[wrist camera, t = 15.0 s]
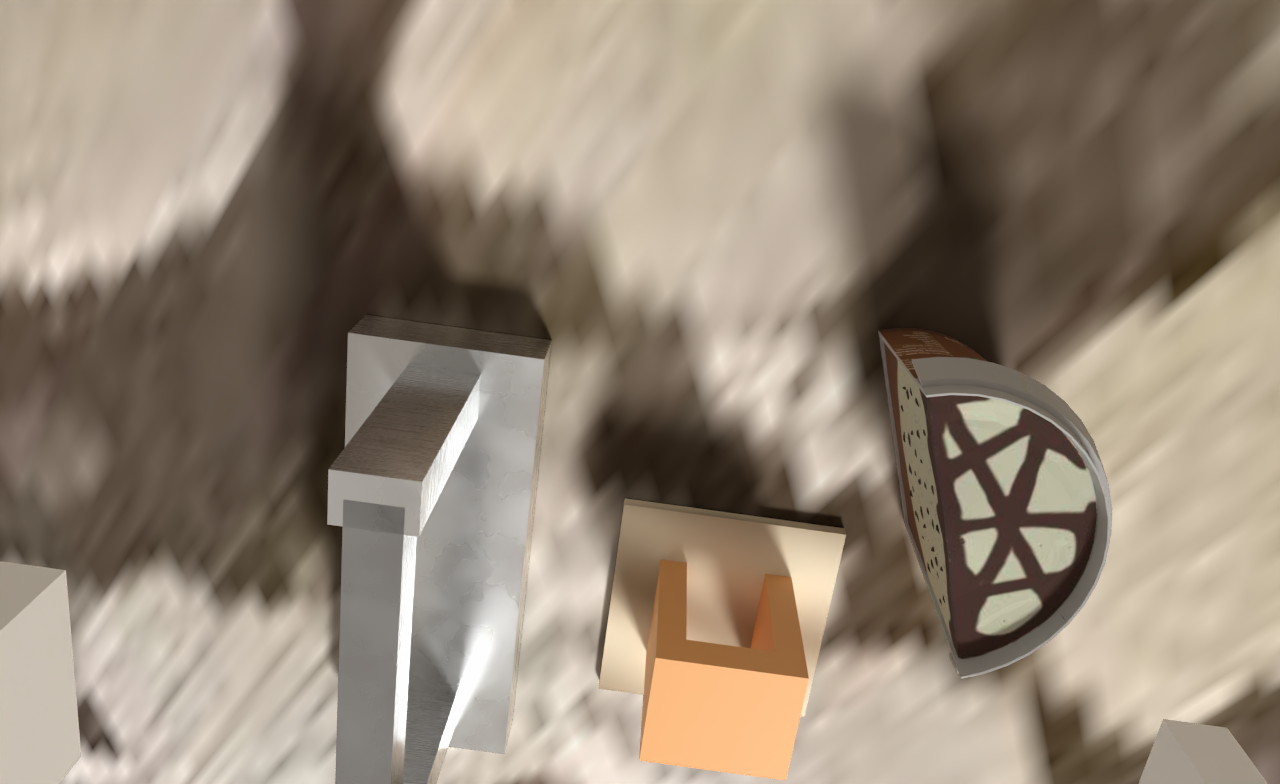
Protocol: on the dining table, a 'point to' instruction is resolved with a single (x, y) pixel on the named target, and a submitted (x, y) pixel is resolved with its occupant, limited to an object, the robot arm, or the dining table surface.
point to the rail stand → (432, 541)
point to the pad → (714, 580)
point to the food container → (993, 497)
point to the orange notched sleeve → (723, 685)
